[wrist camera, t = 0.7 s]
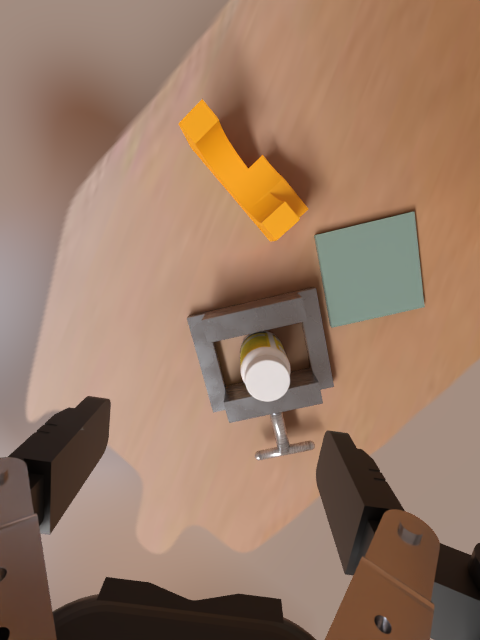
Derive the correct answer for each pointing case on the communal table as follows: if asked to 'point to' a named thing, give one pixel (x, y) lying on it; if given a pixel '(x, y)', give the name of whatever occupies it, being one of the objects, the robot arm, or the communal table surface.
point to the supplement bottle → (264, 366)
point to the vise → (302, 382)
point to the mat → (371, 269)
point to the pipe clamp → (243, 175)
